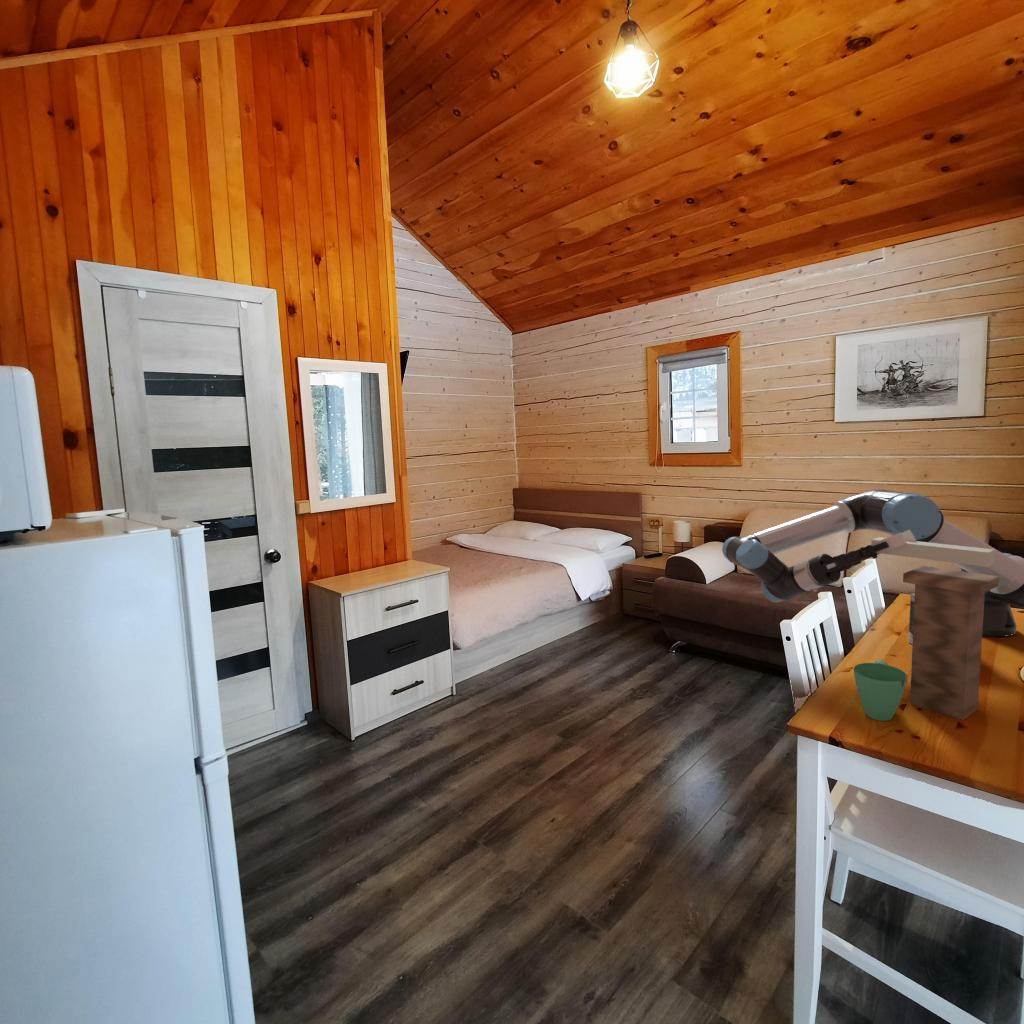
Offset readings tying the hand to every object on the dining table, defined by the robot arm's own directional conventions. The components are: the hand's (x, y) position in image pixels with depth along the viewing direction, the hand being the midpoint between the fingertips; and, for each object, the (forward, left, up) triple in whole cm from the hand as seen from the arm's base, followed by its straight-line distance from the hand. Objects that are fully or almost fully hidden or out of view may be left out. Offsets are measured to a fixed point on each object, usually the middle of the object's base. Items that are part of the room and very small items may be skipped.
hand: (907, 536), depth 130 cm
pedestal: (-7, +4, -37) cm, 38 cm away
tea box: (-13, -32, -38) cm, 51 cm away
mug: (+6, +11, -38) cm, 40 cm away
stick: (-4, +2, -4) cm, 6 cm away
